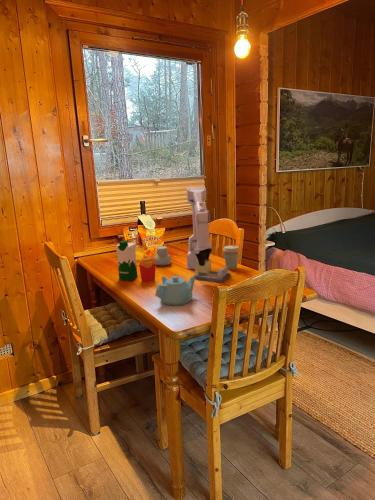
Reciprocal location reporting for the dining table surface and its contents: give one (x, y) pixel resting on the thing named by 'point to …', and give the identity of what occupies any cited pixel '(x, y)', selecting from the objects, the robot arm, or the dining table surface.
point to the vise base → (210, 276)
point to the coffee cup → (231, 256)
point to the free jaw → (222, 272)
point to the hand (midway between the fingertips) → (203, 264)
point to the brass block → (206, 267)
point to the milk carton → (126, 260)
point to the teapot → (175, 290)
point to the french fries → (147, 269)
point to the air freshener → (162, 256)
